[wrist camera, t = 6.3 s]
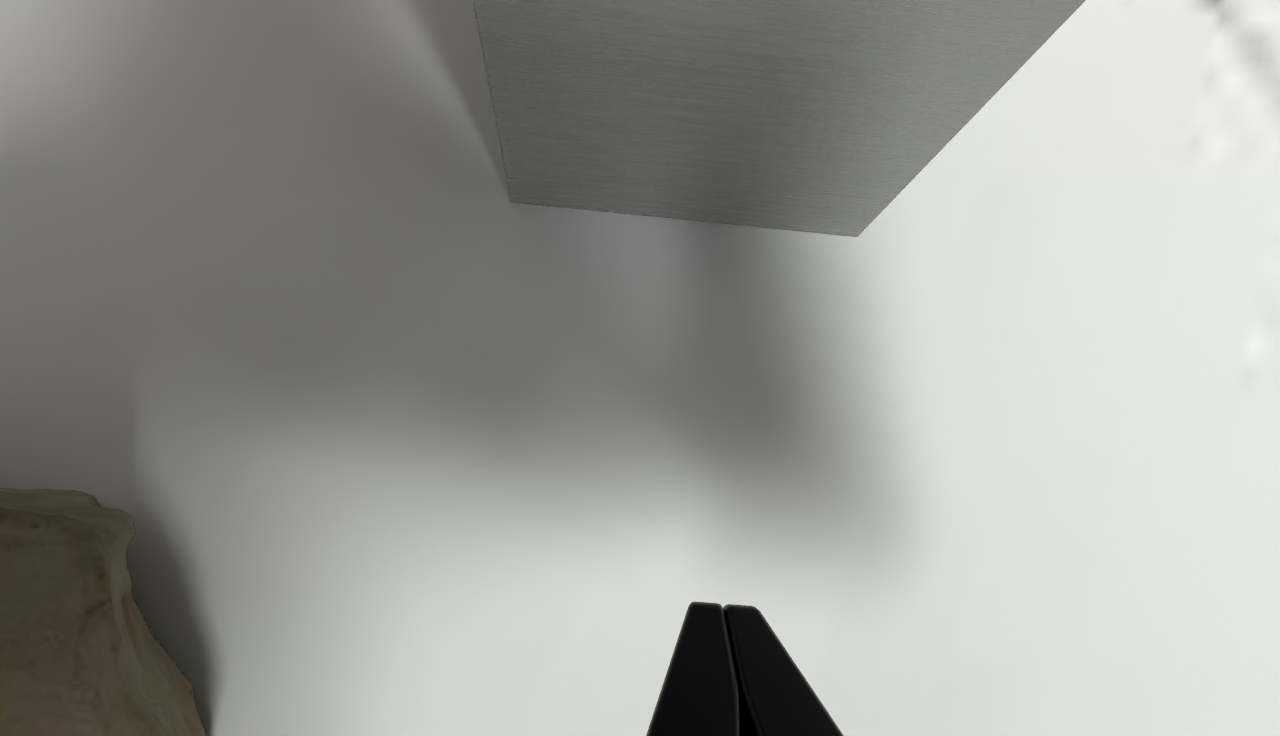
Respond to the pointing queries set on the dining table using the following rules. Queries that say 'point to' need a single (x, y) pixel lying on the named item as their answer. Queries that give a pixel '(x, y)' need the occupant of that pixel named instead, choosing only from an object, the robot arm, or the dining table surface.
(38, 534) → the marble piece
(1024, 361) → the dining table surface
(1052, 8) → the gray bookend
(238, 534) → the dining table surface
